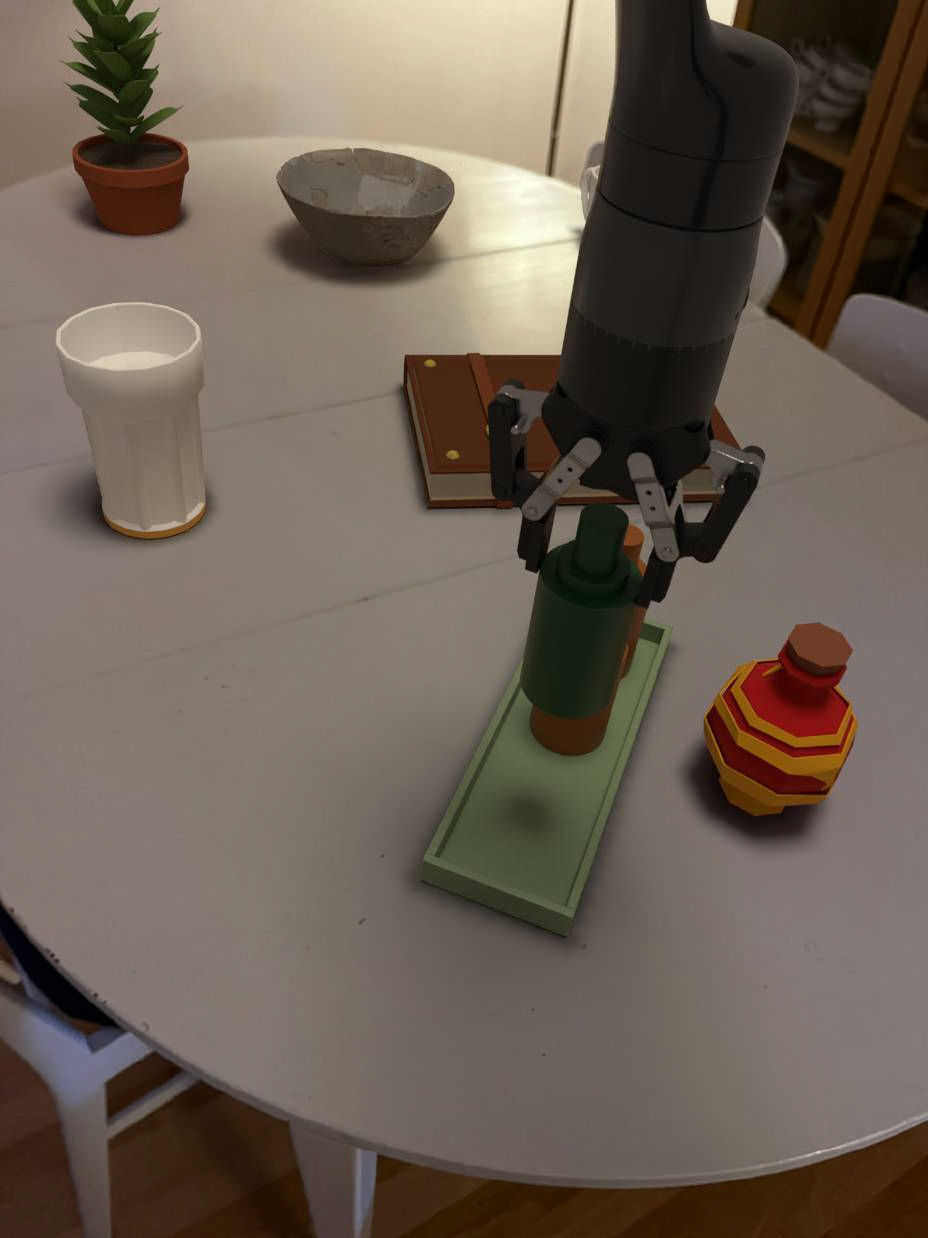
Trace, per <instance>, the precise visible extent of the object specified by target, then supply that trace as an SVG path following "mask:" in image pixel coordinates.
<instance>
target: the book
mask: <svg viewBox="0 0 928 1238" xmlns="http://www.w3.org/2000/svg"><path fill="white" fill-rule="evenodd" d="M560 358H561V354H481V353H480V352H466V354H404V357H403V376H402V377H403V378H402V385H403V392H404V396H405V401H406V407H407V412H408V416H409V421H410V426H411V430H412V435H413V441H414V445H415V450H416V455H417V459H418V464H419V470H420V473H421V478H422V484H423V489H424V493H425V499H426V503H427V508H452V507H453V508H455V507H456V508H457V507H461V508H462V507H495V506H496V508H497V509H509V508H510V509H511V508H514V506H517V505H516V504H515V503H513V502H512V501H510V500H509V501H500V500H498V499H496V498H495V497H494V496H493V494H492V491H491V472H490V451H489V430H488V405H489V404H490V402H491V401H492V399H493V398H494V397H495V395H496V394H497V393H498V391H499V390H500V388H501V387H502V386H503V384H504V383H505V381H506V380H508V379H510V378H516V379H518V380H520V381H521V382H522V383H523V384H524V386H525V388H526V390H531V391H539V392H546V393H549V392H550V390H551V389H552V388H553V387H554V386H555V385H556V381H557V375H558V369H559V364H560ZM715 404H716V403H715ZM715 404H714V407H713V410H712V414H711V423H712V427H713V431H714V435H715V440H718V441H720V442H722V443H725V444H727V445H729V446H732V447H734V448H736V449H739V450H741V451H742V450H743V448H741V446H740V444H739V442H738V441H737V438H736V437H735V436H734V434H733V432H732V431H731V429H730V427H729V426H728V424H727V423H726V421H725V420H724V418H723V416H722V414H721V413H720V410H719V409H718V407H717V406H716V405H715ZM558 454H559V451H558V449H557V447H556V445H555V443H554V441H553V439H552V438H551V436H550V434H549V432H548V430H547V428H546V426H545V424H544V422H543V420H542V417H539V418H536V421H535V422H534V424H533V426H532V427H531V429H530V430H529V432H527V471H528V472H530V473H531V474H533V475H534V476H536V477H537V478H540V477H541V476H542V474H543V473H544V472H545V471H546V470H547V469H548V467H549V466H550V465H551V464H552V463H553V461H554V460H555V459H556V457H557V456H558ZM711 478H712V471H711V469H710V467H709V466H707V465H706V464H703V465H702V466H700V467H699V468H697V469H696V470H694V471H693V472H691V473H690V474H688V475H687V476H685V477H683V478H682V479H681V481H682V486H683V502H700V501H704V502H706V501H715V499H716V497H717V495H718V494H717V493H716V491H715V490H714V489H713V487H712V485H711ZM579 483H580V480H578V479H577V480H576V482H575V483H574V484H573V485H572V486H571V487H570V488H569V489H568V491H567V492H566V493H565V494H564V495H563V496H562V497H561V498H560V499H559V500H557V501H556V502H557V505H578V504H579V505H580V504H581V505H584V504H592V503H608V504H621V503H622V504H624V503H625V504H626V503H636V502H635V501H632V500H628V499H625V498H622V497H620V496H619V495H617V494H615V493H613V492H611V491H609V490H599V489H591V488H588V487H584V486H581V485H579ZM637 503H639V501H638V502H637Z"/></svg>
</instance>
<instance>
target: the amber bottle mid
mask: <svg viewBox="0 0 928 1238" xmlns="http://www.w3.org/2000/svg"><path fill="white" fill-rule="evenodd" d="M627 654H628V644H627V647H626V650H625V654H624V657H623V661H622V665H621V668H620V672H619V675H618V679H617V683H616V686H615V690H614V693H613V697H612V699H611V701H610V703H609V704H608V706H607V707H606V708H605V709H604V710H602V711H601V712H600V713H598V714H596V715H594V716H591V717H588V718H583V719H564V718H559V717H556V716H552V715H550V714H547V713H545V712H543V711H541V710H540V709H538V708H537V707H536V706H534V705H533V706H532V711H531V716H530V728H531V731H532V734H533V735H534V737H535V738H536V740H537V741H538V742H539V743H540V744H541V745H542V746H544V747H545V748H547V749H549V750H550V751H553V752H555V753H558V754H561V755H567V756H578V755H584V754H587V753H590V752H592V751H593V750H595V749H596V748H597V747H598V746H599V745H600V744H601V743H602V741H603V739H604V736H605V733H606V729H607V726H608V722H609V719H610V715H611V711H612V708H613V704H614V701H615V697H616V694H617V690H618V686H619V683H620V679H621V676H622V672H623V668H624V665H625V661H626V658H627Z"/></svg>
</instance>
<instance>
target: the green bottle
mask: <svg viewBox="0 0 928 1238" xmlns="http://www.w3.org/2000/svg"><path fill="white" fill-rule="evenodd" d="M579 513H580V514H579V518H578V522H577V527H576V534H575V538H574V539H572V540H569V541H567V542H566V543H563V544H559V545H557V546H555V547H553V548H552V549H550V550H548V552H547V554H546V555H545V556H544V558H543V560H542V562H541V564H540V569H539V571H538V575H537V580H536V581H537V582H536V586H535V593H534V597H533V598H534V599H533V602H532V603H533V604H532V609H531V613H530V619H529V625H528V631H527V636H526V642H525V646H524V647H525V648H524V653H523V656H524V658H523V657H522V658H523V663H522V669H521V674H520V683H521V687H522V690H523V692H524V694H525V696H526V697H527V698H528V700H529V701H530V702H531V703H532V704H533V705H534V706H536V707H537V708H538V709H540V710H541V711H543V712H545V713H547V714H550V715H552V716H556V717H559V718H564V719H583V718H588V717H591V716H594V715H596V714H598V713H600V712H601V711H602V710H604V709H605V708H606V707H607V706H608V704H609V703H610V701H611V699H612V697H613V693H614V690H615V686H616V683H617V679H618V675H619V672H620V668H621V665H622V661H623V657H624V654H625V650H626V647H627V643H628V639H629V636H630V632H631V629H632V625H633V621H634V618H635V614H636V611H637V607H638V606H636V602H637V599H638V595H639V591H640V588H641V584H642V581H643V577H642V573H641V571H640V569H639V568H638V566H637V565H636V563H635V562H634V561H633V560H632V559H631V558H629V557H628V555H627V554H626V553H625V552H624V551H623V550H622V549H623V545H624V541H625V537H626V533H627V529H628V525H629V524H630V519H629V515H628V514H627V513H626V511H624V510H623V509H622V508H620V507H619V506H618V505H615V504H613V503H588V504H587V505H585V506H584V507H583V508H582V509H581V510H580V512H579Z"/></svg>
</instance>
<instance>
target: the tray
mask: <svg viewBox="0 0 928 1238" xmlns="http://www.w3.org/2000/svg"><path fill="white" fill-rule="evenodd" d="M673 630H674V626H671V625H668V624H665V623H662V622H658V621H656V620H652V619H649V618H646V617H645V619H644V622H643V626H642V629H641V633H640V636H639V640H638V643H637V647H636V650H635V654H634V657H633V661H632V664H631V668H630V670H629V672H628V674H627V675H626V676H625V677H624V678H622V679H621V680H620V683H619V686H618V690H617V694H616V697H615V701H614V704H613V708H612V711H611V715H610V719H609V722H608V726H607V729H606V733H605V736H604V739H603V741H602V743H601V744H600V745H599V746H598V747H597V748H596V749H595V750H593V751H592V752H590V753H587V754H584V755H578V756H567V755H561V754H558V753H555V752H553V751H550V750H549V749H547V748H545V747H544V746H542V745H541V744H540V743H539V742H538V741H537V740H536V738H535V737H534V735H533V734H532V731H531V728H530V716H531V711H532V706H533V704H532V703H531V702H530V701H529V700H528V698H527V697H526V696H525V694H524V692H523V690H522V687H521V683H520V674H521V669H522V663H523V658H524V655H522V658H521V660H520V662H519V665H518V667H517V668H516V671H515V672H514V674H513V676H512V678H511V680H510V683H509V684H508V686H507V689H506V691H505V693H504V695H503V697H502V698H501V701H500V702H499V705H498V707H497V709H496V711H495V713H494V715H493V717H492V719H491V720H490V723H489V725H488V727H487V729H486V730H485V733H484V735H483V737H482V738H481V741H480V743H479V745H478V747H477V749H476V751H475V753H474V755H473V757H472V759H471V761H470V763H469V765H468V767H467V769H466V771H465V773H464V775H463V777H462V779H461V781H460V783H459V785H458V787H457V789H456V791H455V794H454V796H453V797H452V799H451V802H450V804H449V806H448V808H447V810H446V812H445V814H444V816H443V818H442V819H441V821H440V823H439V826H438V827H437V830H436V832H435V834H434V836H433V838H432V840H431V842H430V844H429V846H428V847H427V850H426V852H425V854H424V856H423V858H422V862H421V863H422V864H421V873H420V881H422V882H425V883H428V884H430V885H432V886H435V887H438V888H440V889H443V890H446V891H448V892H451V893H453V894H456V895H458V896H460V897H463V898H466V899H468V900H471V901H473V902H476V903H479V904H481V905H484V906H486V907H489V908H492V909H494V910H497V911H499V912H501V913H504V914H507V915H509V916H512V917H515V918H517V919H520V920H522V921H525V922H528V923H529V924H532V925H535V926H538V927H540V928H543V929H545V930H547V931H551V932H552V933H555V934H558V935H560V936H563V937H568V935H569V932H570V930H571V927H572V923H573V920H574V917H575V914H576V912H577V909H578V906H579V903H580V900H581V898H582V894H583V892H584V889H585V886H586V883H587V880H588V877H589V874H590V872H591V869H592V866H593V863H594V859H595V857H596V854H597V851H598V848H599V846H600V842H601V840H602V836H603V834H604V831H605V828H606V825H607V823H608V820H609V817H610V814H611V810H612V808H613V804H614V802H615V799H616V796H617V795H618V794H617V793H618V791H619V788H620V785H621V781H622V779H623V776H624V773H625V770H626V767H627V764H628V761H629V760H630V759H629V758H630V756H631V753H632V750H633V747H634V744H635V741H636V739H637V735H638V732H639V731H640V727H641V724H642V722H643V719H644V715H645V713H646V709H647V706H648V704H649V701H650V698H651V695H652V692H653V689H654V686H655V683H656V681H657V677H658V675H659V672H660V669H661V667H662V663H663V660H664V657H665V655H666V652H667V649H668V645H669V643H670V640H671V635H672V633H673Z"/></svg>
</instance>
